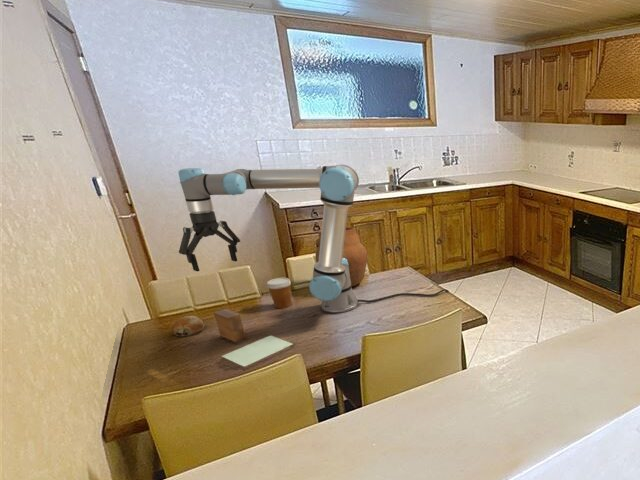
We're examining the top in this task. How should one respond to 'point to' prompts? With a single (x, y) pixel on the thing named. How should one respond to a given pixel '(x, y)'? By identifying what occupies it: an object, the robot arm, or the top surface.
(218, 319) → the eraser
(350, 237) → the pot
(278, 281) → the disposable coffee cup
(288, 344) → the wipe board
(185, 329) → the bread roll
